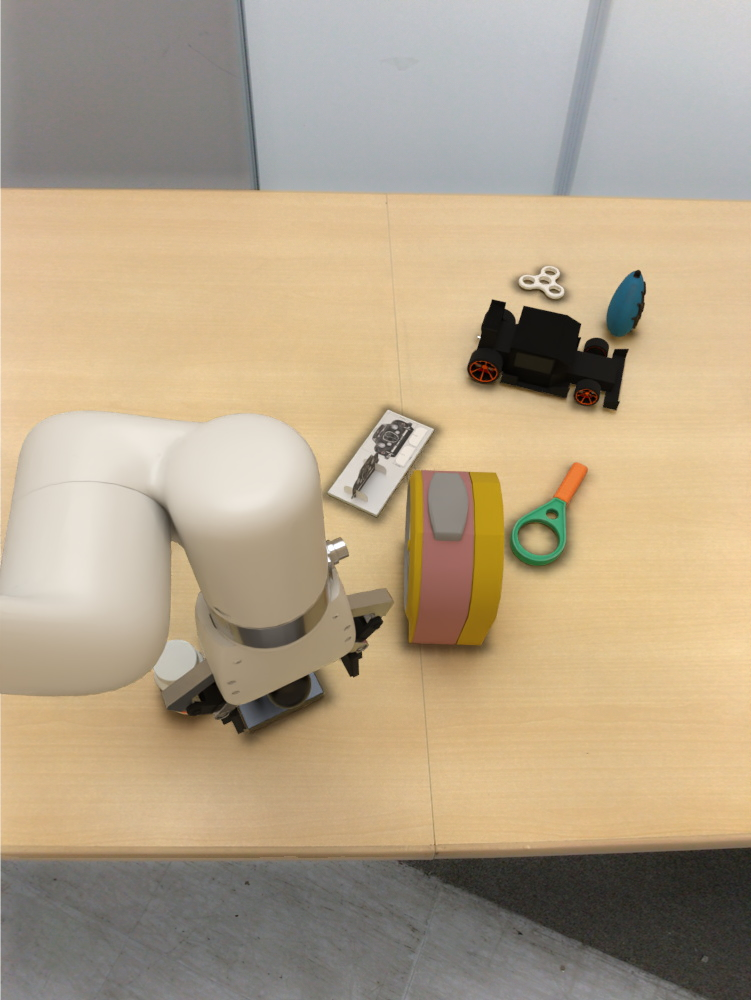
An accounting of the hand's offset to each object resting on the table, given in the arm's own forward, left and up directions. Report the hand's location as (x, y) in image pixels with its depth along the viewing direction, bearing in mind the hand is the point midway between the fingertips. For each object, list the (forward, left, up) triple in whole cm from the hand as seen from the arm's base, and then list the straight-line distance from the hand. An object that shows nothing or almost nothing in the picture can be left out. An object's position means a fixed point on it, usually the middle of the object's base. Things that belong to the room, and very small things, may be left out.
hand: (292, 687), depth 59 cm
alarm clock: (+20, +8, -15) cm, 26 cm away
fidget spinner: (+60, +45, -15) cm, 76 cm away
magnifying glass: (+37, +11, -15) cm, 41 cm away
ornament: (+64, +33, -15) cm, 73 cm away
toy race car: (+50, +31, -15) cm, 61 cm away
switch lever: (0, +3, -3) cm, 5 cm away
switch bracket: (0, +9, -15) cm, 17 cm away
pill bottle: (-8, +10, -15) cm, 20 cm away
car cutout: (+23, +27, -15) cm, 38 cm away
